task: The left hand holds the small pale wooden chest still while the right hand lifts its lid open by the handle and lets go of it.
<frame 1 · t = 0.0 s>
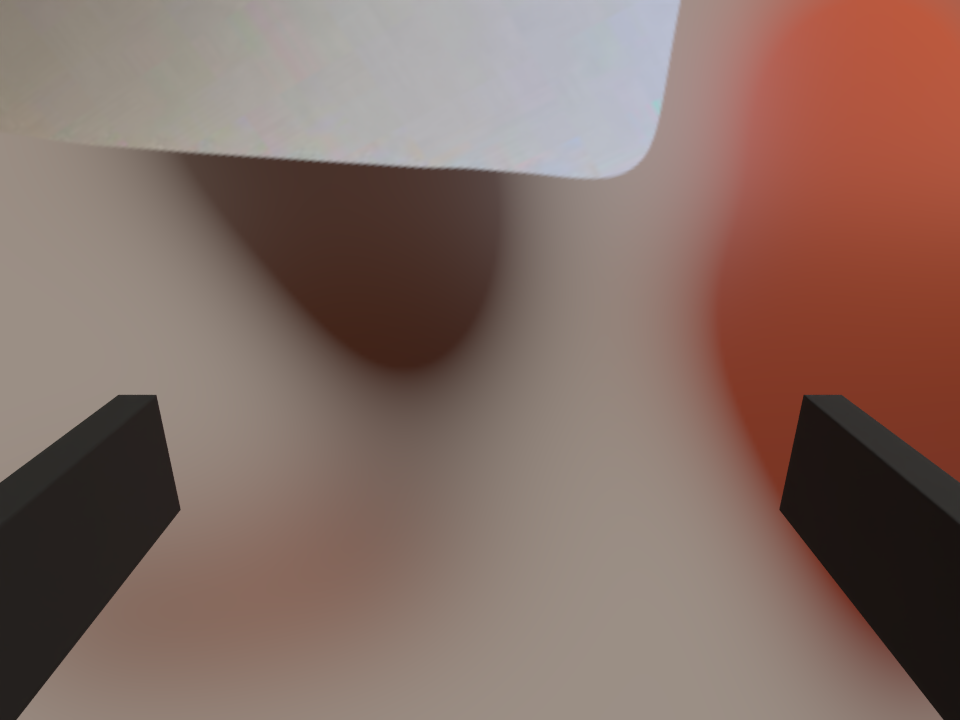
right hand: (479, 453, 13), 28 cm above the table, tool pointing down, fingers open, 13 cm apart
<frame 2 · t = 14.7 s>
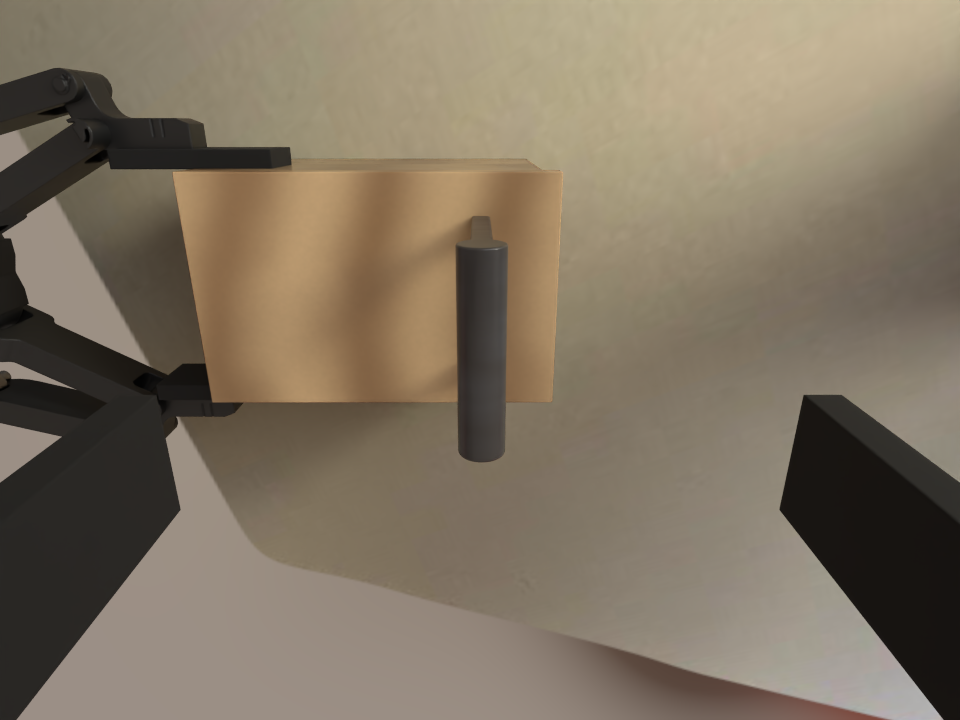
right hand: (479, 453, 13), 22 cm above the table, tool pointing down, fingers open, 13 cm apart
left hand: (294, 276, 27), fingers closed on chest, 9 cm apart
chest: (397, 249, 33), on the table, touching left hand
lid: (360, 319, 21), point 13 cm above the table, hinge at 0.0°
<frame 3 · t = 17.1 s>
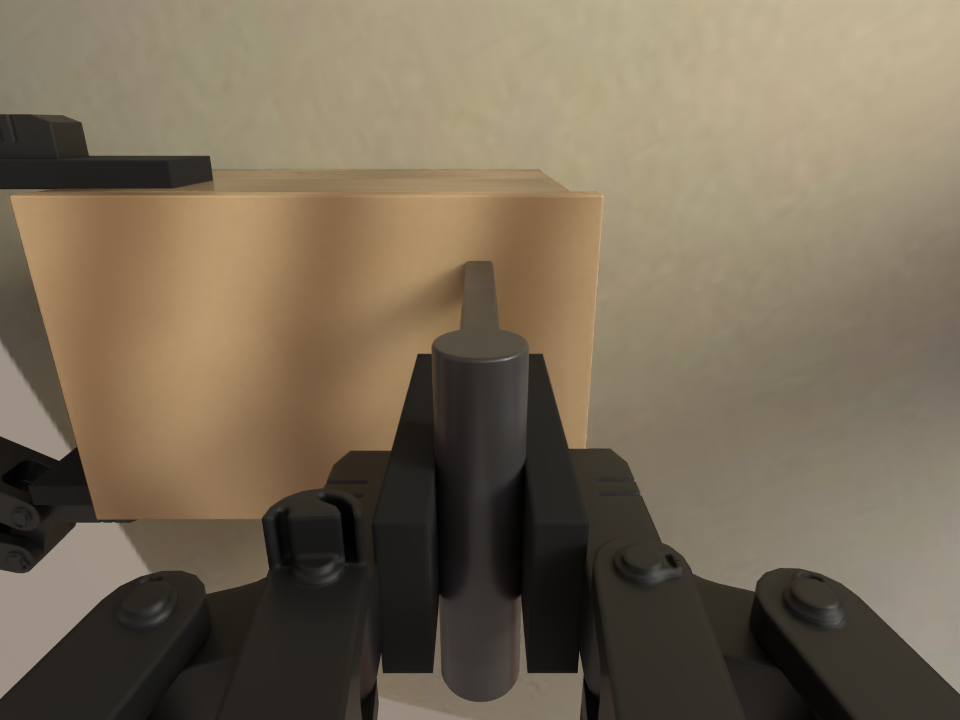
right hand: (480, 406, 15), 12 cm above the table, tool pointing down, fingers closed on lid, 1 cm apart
chest: (371, 286, 26), on the table, touching left hand
lid: (289, 430, 14), point 13 cm above the table, hinge at -0.1°, touching right hand
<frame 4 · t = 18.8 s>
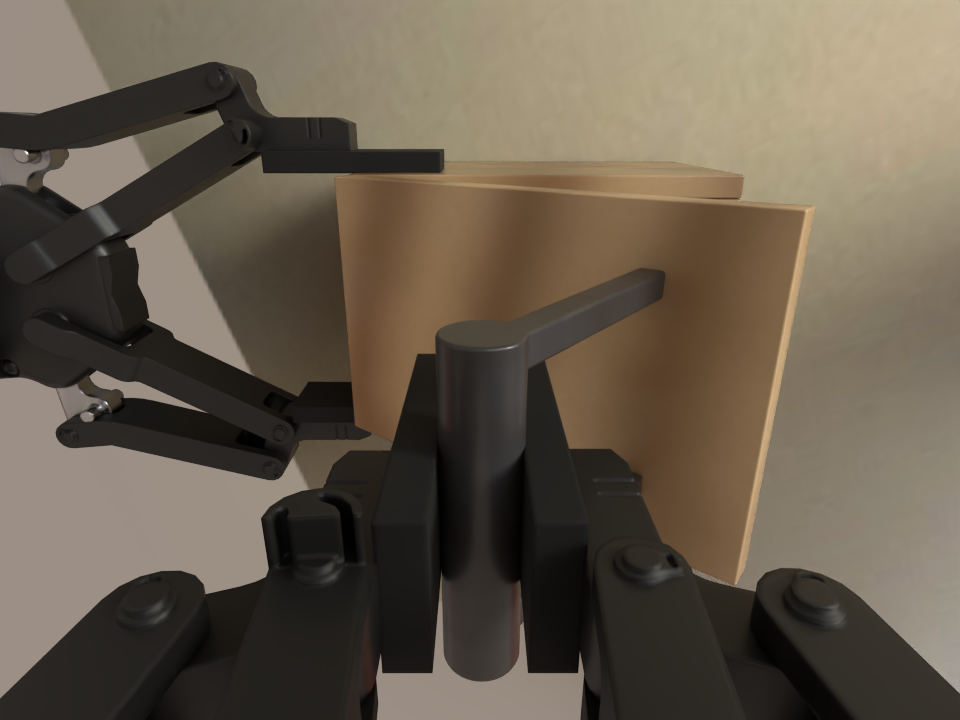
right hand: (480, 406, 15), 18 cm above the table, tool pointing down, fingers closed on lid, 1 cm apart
left hand: (444, 289, 25), fingers closed on chest, 9 cm apart
chest: (526, 258, 31), on the table, touching left hand
lid: (433, 388, 16), point 17 cm above the table, hinge at 37.3°, touching right hand
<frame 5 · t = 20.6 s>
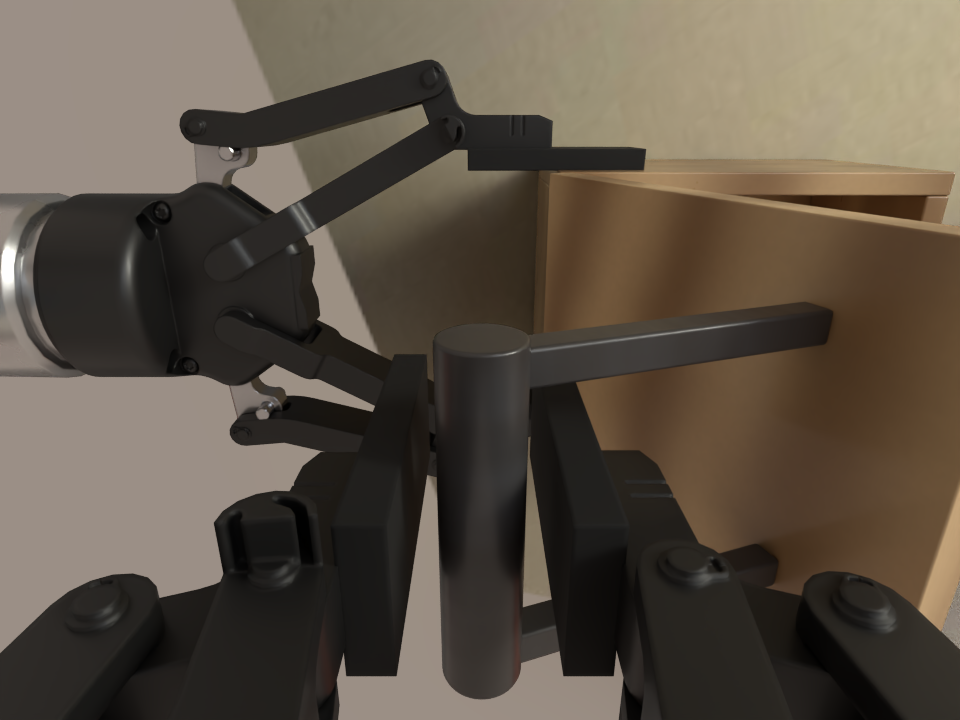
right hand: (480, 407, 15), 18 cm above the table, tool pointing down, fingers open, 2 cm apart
left hand: (624, 287, 25), fingers closed on chest, 9 cm apart
chest: (671, 256, 31), on the table, touching left hand
lid: (552, 395, 15), point 17 cm above the table, hinge at 69.5°
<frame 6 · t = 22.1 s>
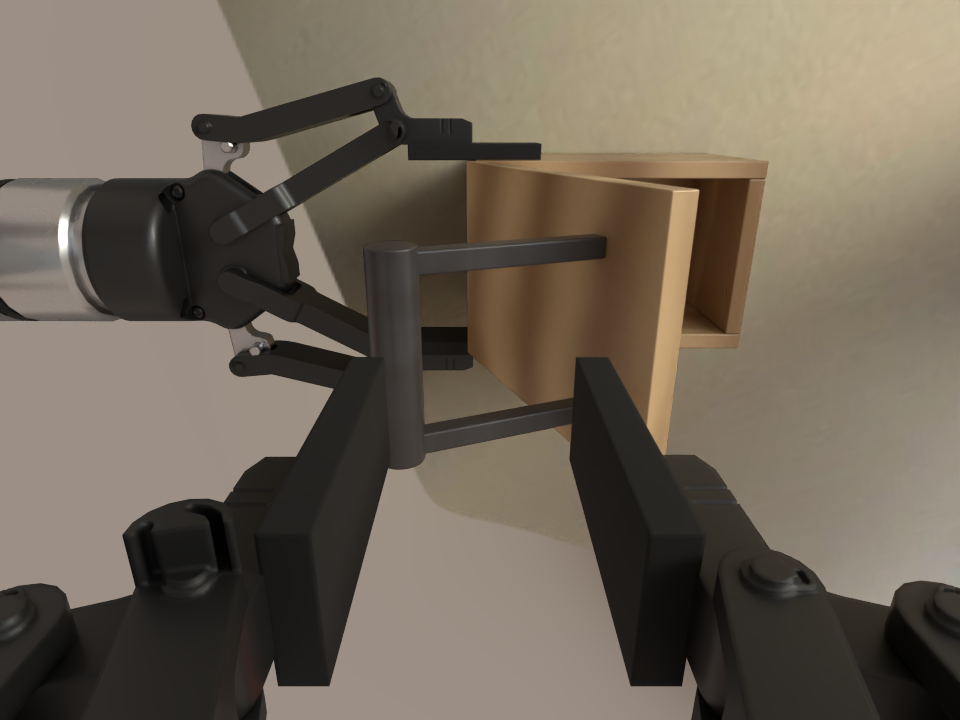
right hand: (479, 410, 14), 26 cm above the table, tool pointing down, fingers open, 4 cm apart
left hand: (534, 251, 33), fingers closed on chest, 9 cm apart
chest: (586, 231, 39), on the table, touching left hand
lid: (456, 307, 22), point 18 cm above the table, hinge at 67.3°
when the left hand's fingers open (7 cm above the table, at t = 24.4 s): chest stays where it is, on the table.
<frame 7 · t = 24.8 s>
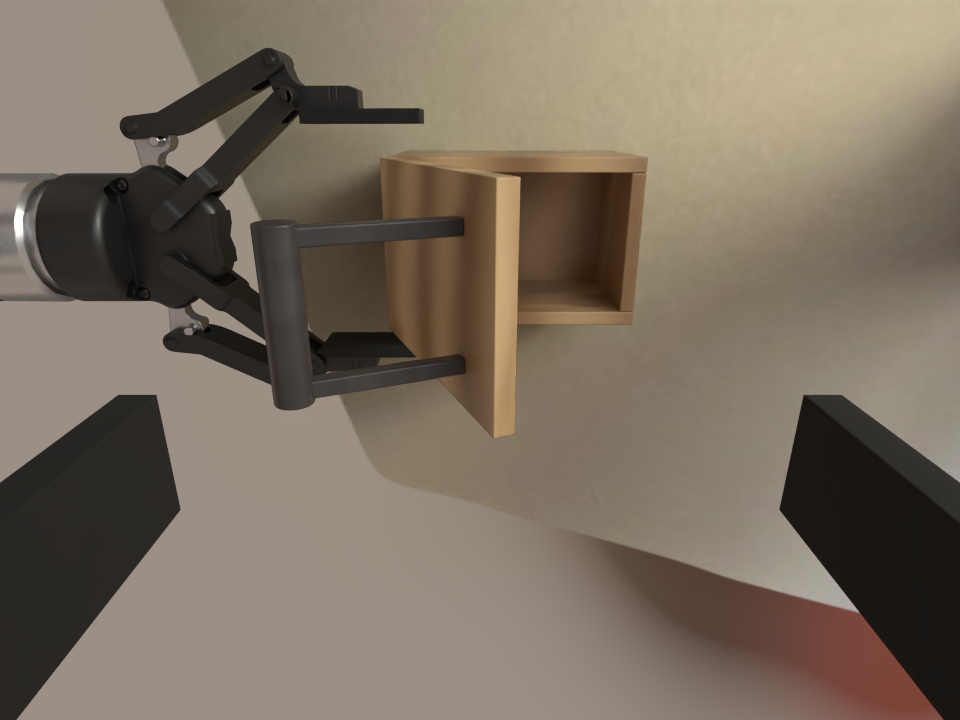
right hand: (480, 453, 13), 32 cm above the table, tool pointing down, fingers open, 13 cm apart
left hand: (426, 238, 36), fingers open, 13 cm apart
chest: (509, 222, 43), on the table
lid: (355, 281, 26), point 18 cm above the table, hinge at 66.6°
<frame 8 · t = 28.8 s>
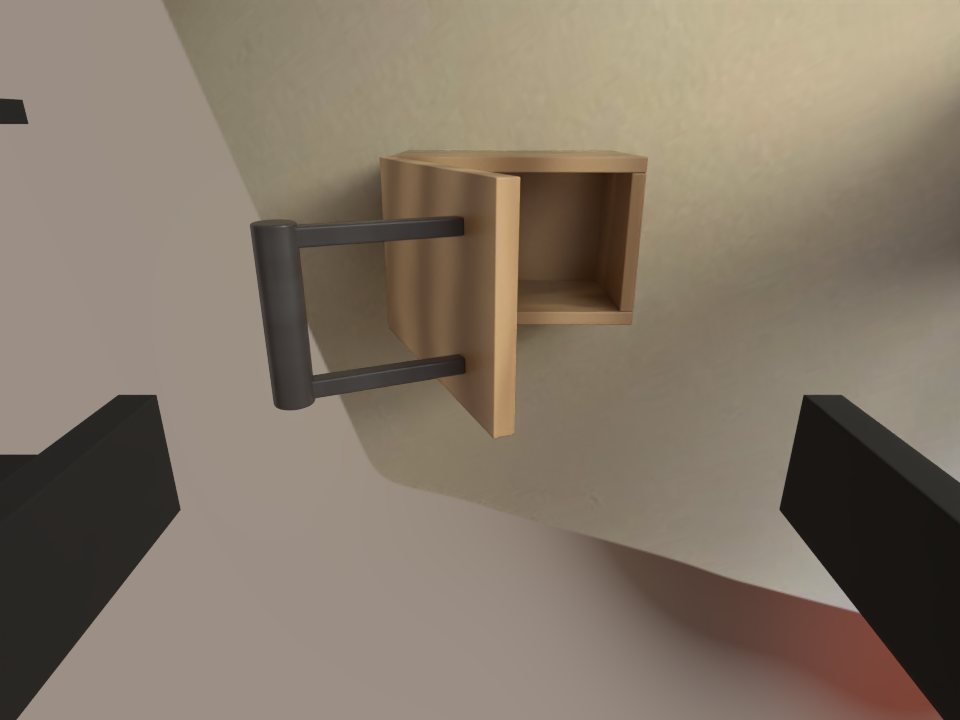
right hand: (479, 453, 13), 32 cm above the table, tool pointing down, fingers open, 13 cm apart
chest: (509, 222, 43), on the table
lid: (355, 281, 26), point 18 cm above the table, hinge at 66.6°
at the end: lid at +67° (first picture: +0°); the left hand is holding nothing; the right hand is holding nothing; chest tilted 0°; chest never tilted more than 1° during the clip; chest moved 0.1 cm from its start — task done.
